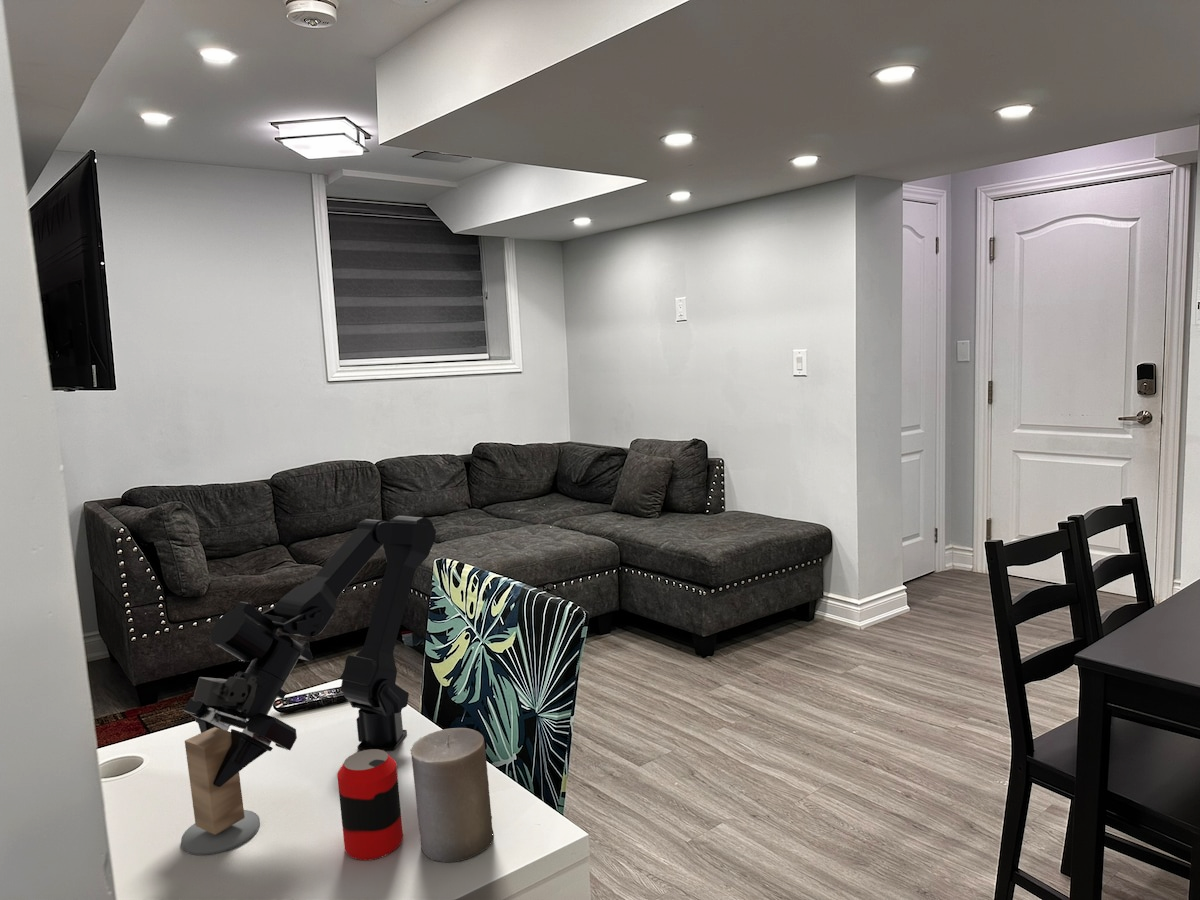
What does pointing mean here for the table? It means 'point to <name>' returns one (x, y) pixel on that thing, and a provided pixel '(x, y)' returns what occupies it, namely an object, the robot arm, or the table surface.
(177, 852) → the table surface
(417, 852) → the table surface
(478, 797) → the pillar candle
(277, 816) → the table surface
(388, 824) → the soda can
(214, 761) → the walnut block
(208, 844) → the charcoal coaster
